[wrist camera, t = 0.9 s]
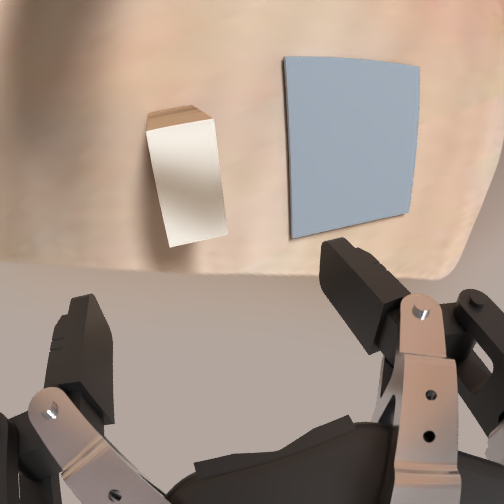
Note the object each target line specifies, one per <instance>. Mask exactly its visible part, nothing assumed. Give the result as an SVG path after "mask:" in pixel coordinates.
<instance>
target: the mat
mask: <svg viewBox="0 0 504 504" xmlns="http://www.w3.org/2000/svg"><path fill="white" fill-rule="evenodd" d="M284 71H285V87H286V105H287V124H288V146H289V173H290V208H291V237H292V239H293V238H298V237H302V236H307V235H311V234H315V233H320V232H324V231H329V230H333V229H338V228H342V227H347V226H351V225H355V224H360V223H364V222H369V221H373V220H378V219H382V218H387V217H391V216H396V215H400V214H405V213H409V207H410V200H411V193H412V185H413V177H414V168H415V159H416V148H417V135H418V120H419V95H420V67H418V66H411V65H405V64H398V63H390V62H382V61H373V60H363V59H350V58H333V57H284Z"/></svg>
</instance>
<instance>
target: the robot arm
mask: <svg viewBox="0 0 504 504" xmlns="http://www.w3.org/2000/svg"><path fill="white" fill-rule="evenodd" d="M319 280H320V285H321V288H322V290H323V292H324V294H325V295H326V297H327V298H328V299H329V301H330V302H331V303H332V305H333V306H334V307H335V309H336V310H337V311H338V313H339V314H340V315H341V317H342V318H343V320H344V321H345V322H346V324H347V325H348V327H349V328H350V329H351V331H352V332H353V333H354V335H355V336H356V338H357V339H358V340H359V342H360V343H361V345H362V346H363V347H364V349H365V350H366V352H367V353H368V354H369V355H371V354H373V353H375V352H378V351H381V352H382V353H383V358H382V363H381V371H380V380H379V388H378V396H377V402H376V407H375V410H374V413H373V416H372V420H371V422H357V423H353V422H352V420H351V418H350V417H349V415H346V416H344V417H342V418H339V419H337V420H334V421H332V422H330V423H327V424H324V425H322V426H319V427H317V428H314V429H312V430H311V431H309V432H308V433H306V434H305V435H303V436H302V437H300V438H299V439H297V440H295V441H294V442H292V443H291V444H289V445H287V446H286V447H284V448H283V449H281V450H279V451H274V452H262V453H242V454H231V455H227V456H222V457H218V458H214V459H210V460H205V461H200V462H195V463H194V466H195V470H196V472H195V473H192V474H190V475H189V476H187V477H185V478H184V479H182V480H181V481H180V482H179V483H177V484H176V485H175V486H174V487H173V488H172V489H171V490H170V491H169V492H168V493H167V494H166V493H165V492H164V491H162V490H161V489H160V488H159V487H158V486H157V485H155V484H154V483H153V482H152V481H151V480H149V479H148V478H147V477H146V476H145V475H144V474H142V473H141V472H140V471H139V470H138V469H137V468H136V467H135V466H134V465H133V464H132V463H131V462H130V461H128V459H126V457H124V455H122V454H121V453H120V452H119V451H118V449H116V447H115V446H114V445H112V443H111V442H110V441H109V440H108V439H107V438H106V437H105V436H104V425H108V424H114V423H115V422H114V403H113V341H112V334H111V331H110V328H109V325H108V323H107V321H106V319H105V317H104V315H103V313H102V311H101V309H100V306H99V304H98V302H97V300H96V298H95V296H94V295H93V294H88V295H84V296H79V297H75V298H72V299H71V302H70V306H69V311H68V314H67V315H62V316H61V318H60V320H59V321H58V323H57V324H56V326H55V328H54V332H53V337H52V342H51V347H50V351H51V352H49V358H48V364H47V370H46V377H45V384H44V389H42V390H40V391H39V392H37V393H36V395H34V397H33V398H32V400H31V401H30V404H29V407H28V411H26V412H24V413H22V414H20V415H17V416H15V417H13V418H10V419H7V418H6V417H5V416H4V415H3V414H2V413H0V504H62V501H61V492H60V484H59V472H62V471H63V473H62V474H61V475H62V478H63V480H64V481H65V483H66V484H67V485H68V487H69V488H70V489H71V490H72V492H73V493H74V494H75V495H76V497H77V498H78V499H79V500H80V501H81V503H82V504H504V313H503V312H502V311H501V310H500V309H499V308H498V306H496V304H495V303H494V302H493V301H492V300H491V299H490V298H489V297H488V296H487V295H485V294H484V293H482V292H480V291H478V290H475V289H466V290H463V291H462V292H461V293H460V294H459V297H458V299H457V302H456V303H447V304H438V303H437V302H436V301H435V300H434V299H433V298H431V297H429V296H427V295H424V294H411V293H410V292H409V291H408V290H407V289H406V288H405V287H404V286H403V285H402V284H401V283H400V282H399V281H398V280H397V279H396V278H395V277H394V276H393V275H392V274H391V273H390V272H389V271H387V270H386V268H385V267H384V266H383V265H382V264H380V263H379V261H378V260H377V259H376V258H375V257H374V256H373V255H371V254H370V253H368V252H366V251H364V250H362V249H360V248H355V247H353V246H352V245H351V244H350V243H349V242H348V241H347V240H346V239H345V238H343V237H341V238H337V239H333V240H329V241H324V242H323V243H322V246H321V257H320V272H319ZM476 342H478V344H479V345H480V346H481V347H482V349H483V350H484V351H485V352H486V354H487V355H488V356H489V357H490V359H491V360H492V362H493V367H494V368H493V373H491V372H490V371H489V370H488V368H487V367H486V366H485V364H484V363H483V362H482V361H481V359H480V358H479V357H478V356H477V354H476V353H475V352H474V350H473V348H474V345H475V344H476ZM458 393H459V395H460V396H461V397H462V399H463V400H464V402H465V403H466V405H467V406H468V408H469V409H470V411H471V412H472V414H473V415H474V417H475V418H476V420H477V421H478V423H479V424H480V426H481V427H482V429H483V431H484V432H485V434H486V435H487V437H488V448H487V449H486V452H485V454H486V457H487V459H489V460H487V459H483V458H480V457H477V456H473V455H470V454H467V453H464V452H461V451H458ZM490 460H492V461H490ZM18 473H19V483H18ZM19 487H20V498H19Z"/></svg>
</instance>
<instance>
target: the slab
mask: <svg viewBox="0 0 504 504" xmlns="http://www.w3.org/2000/svg"><path fill="white" fill-rule="evenodd" d="M146 135H147V141H148V147H149V152H150V157H151V163H152V168H153V173H154V178H155V183H156V188H157V193H158V198H159V202H160V207H161V211H162V216H163V220H164V225H165V229H166V233H167V238H168V242H169V246H170V247H175V246H179V245H184V244H188V243H192V242H197V241H201V240H206V239H210V238H215V237H219V236H224V235H228V230H227V222H226V214H225V206H224V198H223V190H222V182H221V174H220V166H219V157H218V149H217V140H216V132H215V123H214V119H213V118H211V117H210V116H208V115H207V114H205V113H204V112H202V111H200V110H199V109H197V108H196V107H194V106H193V105H189V106H183V107H177V108H172V109H167V110H162V111H157V112H152V113H148V119H147V127H146Z"/></svg>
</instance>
